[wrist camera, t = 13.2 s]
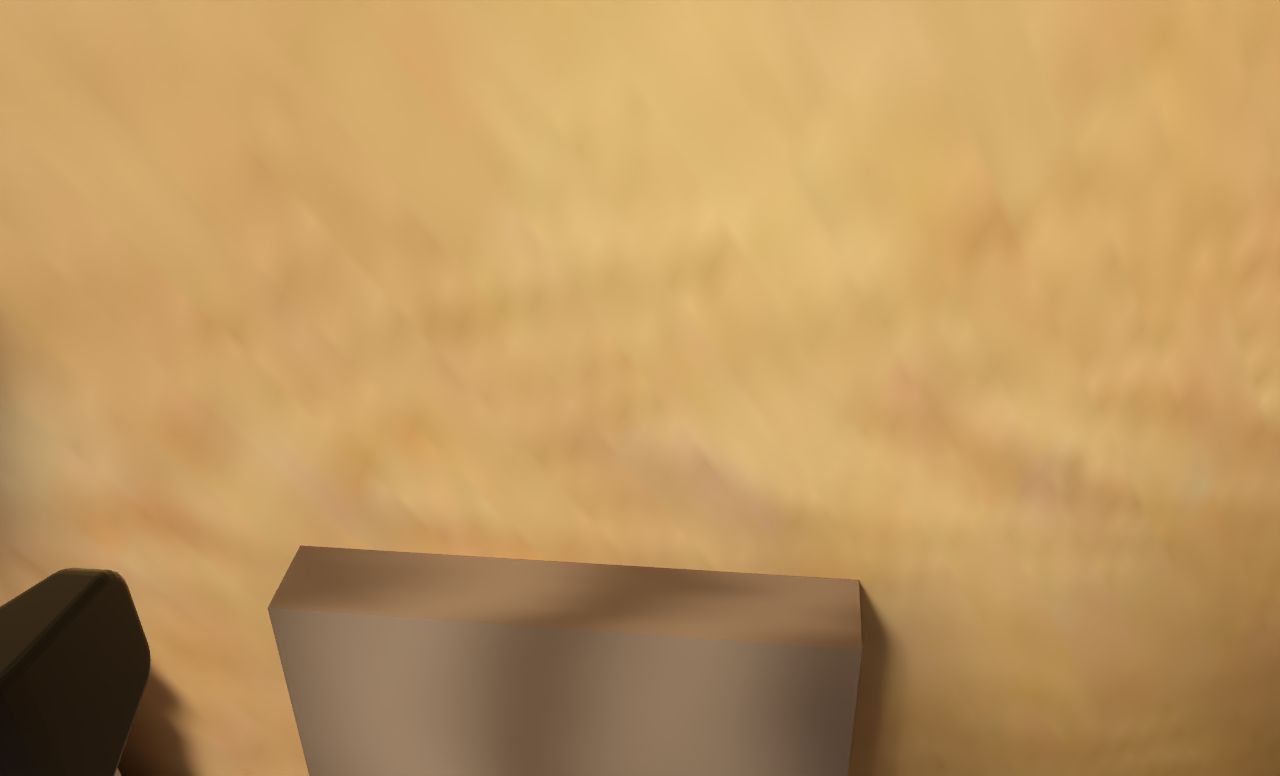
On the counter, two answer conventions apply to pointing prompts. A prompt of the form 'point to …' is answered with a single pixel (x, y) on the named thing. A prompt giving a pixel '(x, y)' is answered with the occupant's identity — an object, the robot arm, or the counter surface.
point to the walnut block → (564, 667)
